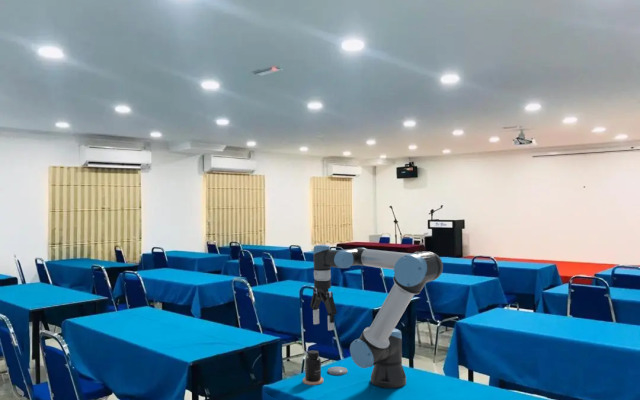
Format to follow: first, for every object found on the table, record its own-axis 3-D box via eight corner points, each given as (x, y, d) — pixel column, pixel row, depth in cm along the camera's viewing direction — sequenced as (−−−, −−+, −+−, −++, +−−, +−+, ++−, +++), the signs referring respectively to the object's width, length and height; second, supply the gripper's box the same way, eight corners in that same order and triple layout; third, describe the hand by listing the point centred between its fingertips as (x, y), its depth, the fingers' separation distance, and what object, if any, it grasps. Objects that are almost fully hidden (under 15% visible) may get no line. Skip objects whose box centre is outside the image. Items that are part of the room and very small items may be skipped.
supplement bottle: (319, 382, 208) (319, 354, 208) (303, 381, 210) (303, 353, 210) (322, 377, 215) (322, 349, 215) (307, 376, 216) (307, 349, 216)
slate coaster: (350, 373, 222) (350, 371, 222) (333, 376, 218) (333, 374, 218) (341, 367, 230) (341, 365, 230) (324, 370, 226) (324, 368, 226)
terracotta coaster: (326, 383, 210) (326, 381, 210) (307, 386, 206) (307, 384, 206) (318, 376, 218) (318, 374, 218) (299, 379, 214) (299, 377, 214)
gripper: (302, 277, 228) (303, 322, 228) (328, 283, 206) (330, 333, 206) (316, 275, 232) (317, 320, 231) (344, 281, 210) (345, 331, 210)
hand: (323, 327), depth 219 cm, fingers open, 13 cm apart
